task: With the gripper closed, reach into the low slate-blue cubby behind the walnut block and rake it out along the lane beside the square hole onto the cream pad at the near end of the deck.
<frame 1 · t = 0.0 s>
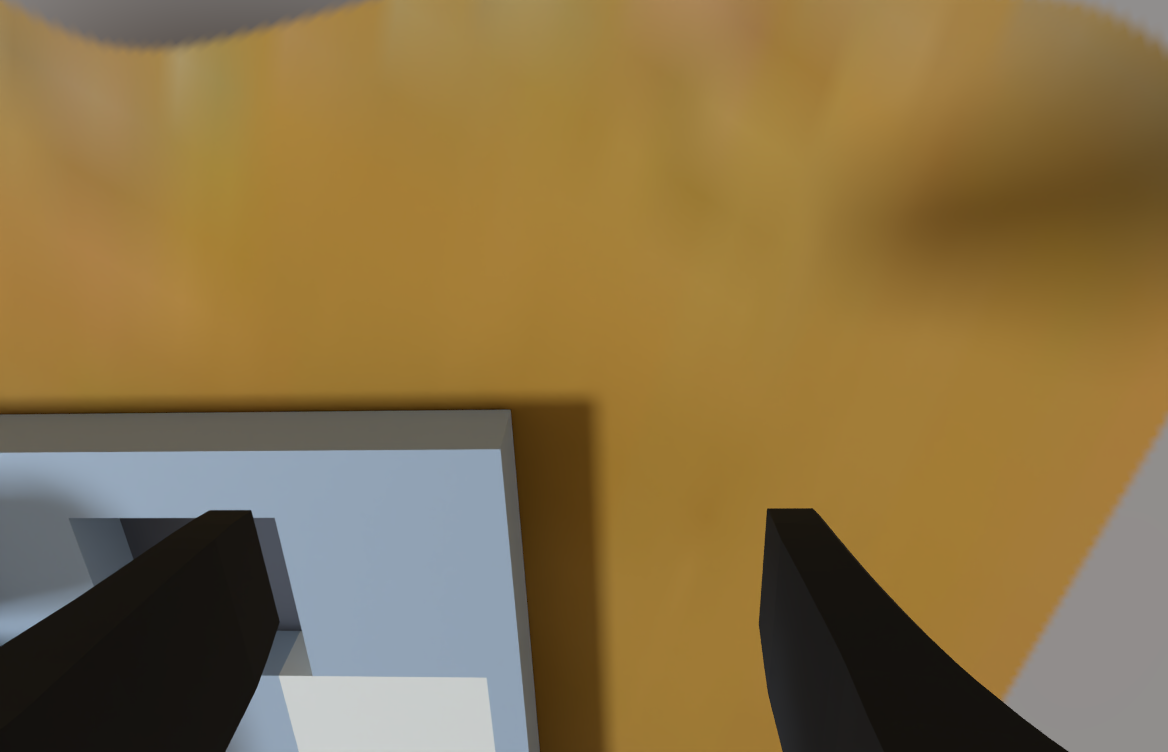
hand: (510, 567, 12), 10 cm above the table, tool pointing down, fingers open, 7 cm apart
deck: (153, 649, 27), on the table
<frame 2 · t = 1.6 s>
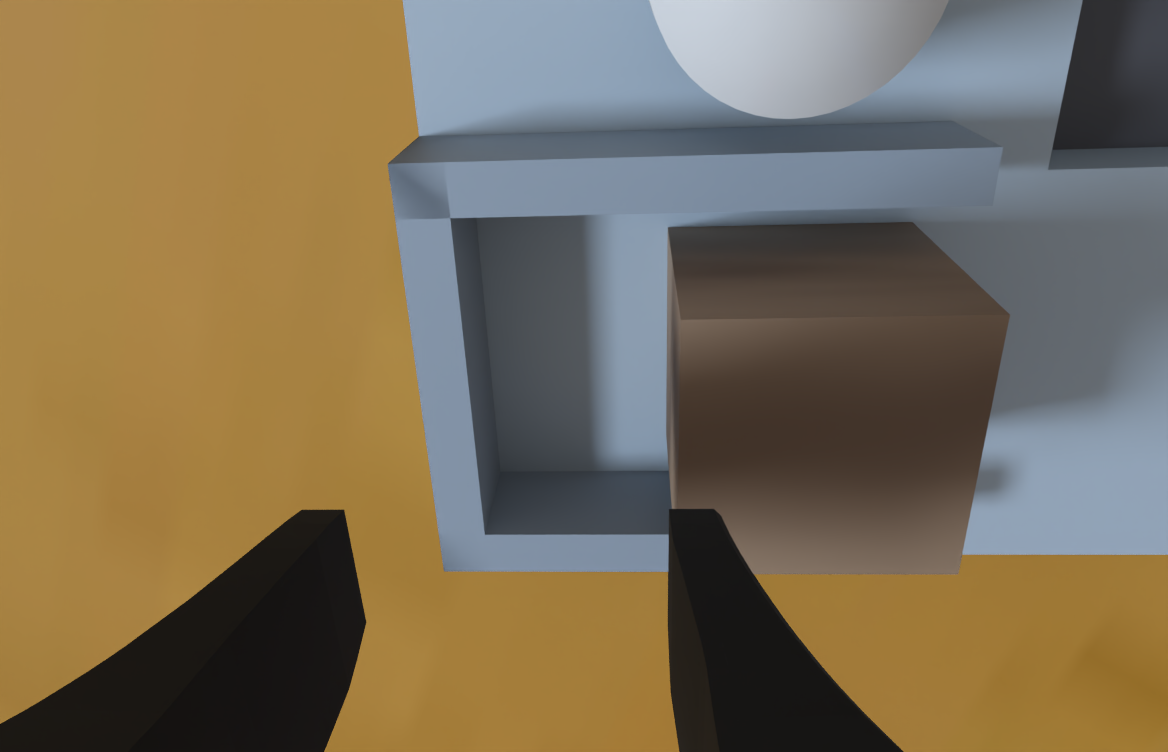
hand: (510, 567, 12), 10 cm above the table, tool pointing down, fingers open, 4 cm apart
deck: (976, 194, 19), on the table
walnut block: (780, 335, 19), point 2 cm above the table, touching deck
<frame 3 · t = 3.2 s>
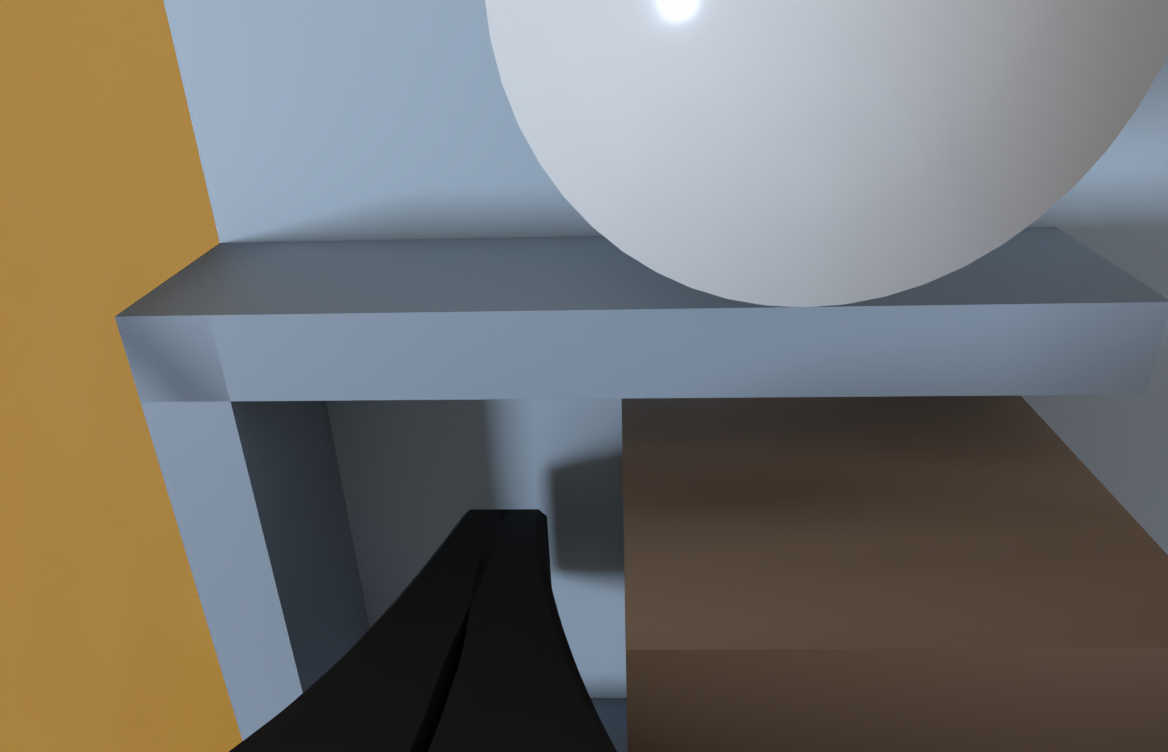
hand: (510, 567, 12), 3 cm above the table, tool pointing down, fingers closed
deck: (1071, 315, 13), on the table
walnut block: (794, 527, 12), point 2 cm above the table, touching gripper
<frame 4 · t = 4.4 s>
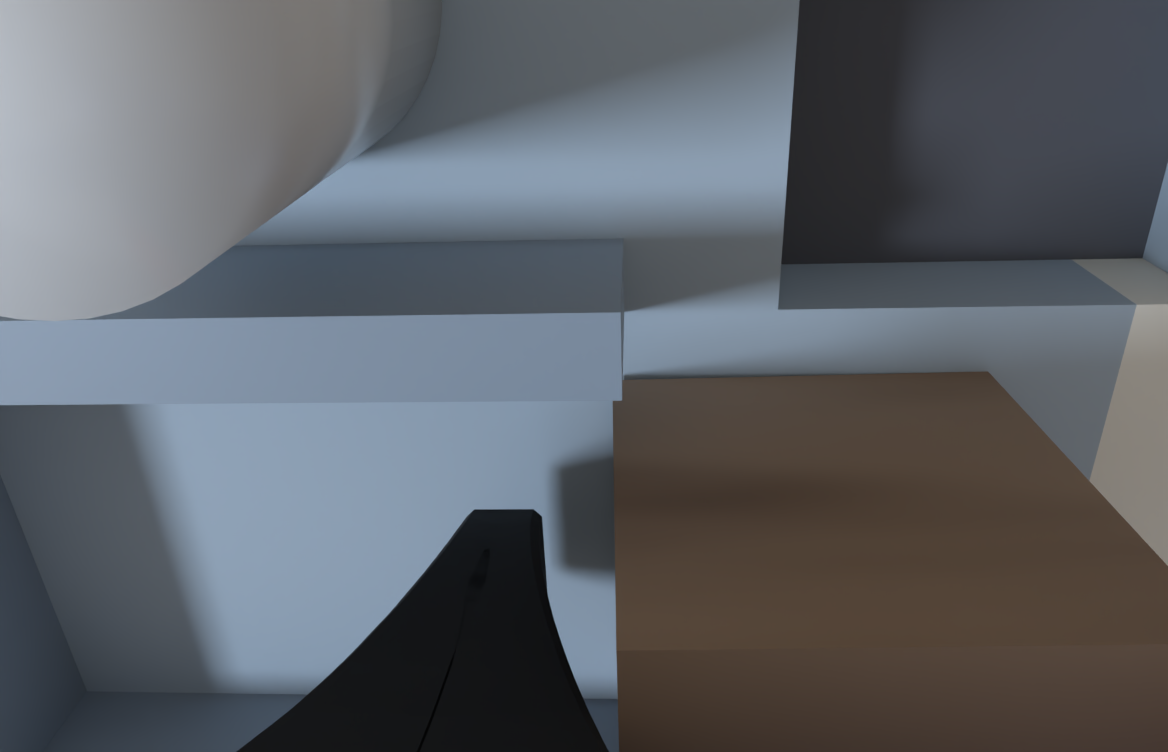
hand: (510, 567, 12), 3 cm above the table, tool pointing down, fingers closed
deck: (722, 322, 13), on the table
walnut block: (786, 528, 13), point 2 cm above the table, touching deck, gripper
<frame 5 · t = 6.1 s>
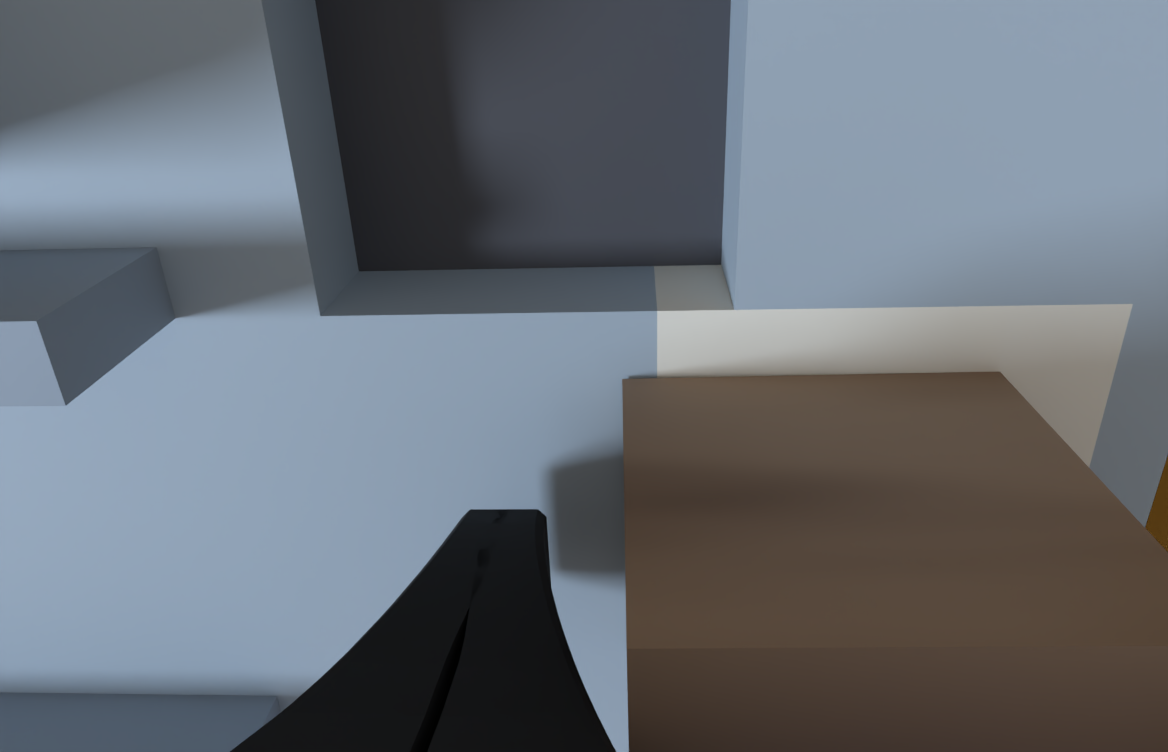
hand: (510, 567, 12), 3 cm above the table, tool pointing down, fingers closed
deck: (341, 327, 14), on the table
walnut block: (795, 527, 12), point 2 cm above the table, touching deck, gripper
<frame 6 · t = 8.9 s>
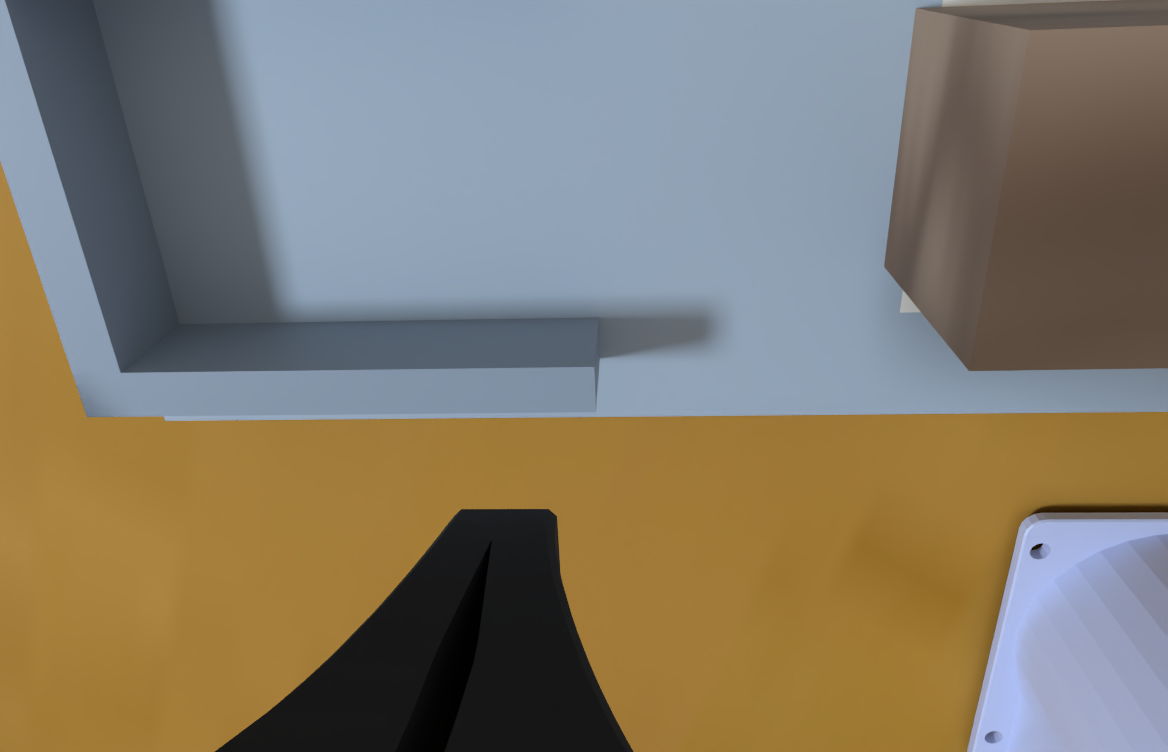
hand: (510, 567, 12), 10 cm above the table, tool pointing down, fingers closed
deck: (664, 13, 18), on the table
walnut block: (1029, 142, 17), point 2 cm above the table, touching deck
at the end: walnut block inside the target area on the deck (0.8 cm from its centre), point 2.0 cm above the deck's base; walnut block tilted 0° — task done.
